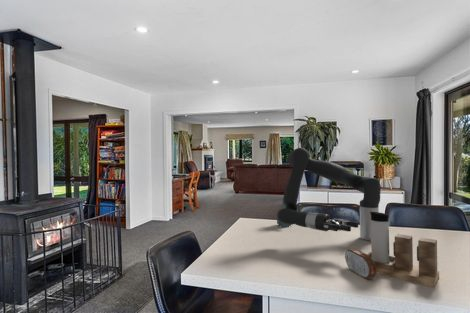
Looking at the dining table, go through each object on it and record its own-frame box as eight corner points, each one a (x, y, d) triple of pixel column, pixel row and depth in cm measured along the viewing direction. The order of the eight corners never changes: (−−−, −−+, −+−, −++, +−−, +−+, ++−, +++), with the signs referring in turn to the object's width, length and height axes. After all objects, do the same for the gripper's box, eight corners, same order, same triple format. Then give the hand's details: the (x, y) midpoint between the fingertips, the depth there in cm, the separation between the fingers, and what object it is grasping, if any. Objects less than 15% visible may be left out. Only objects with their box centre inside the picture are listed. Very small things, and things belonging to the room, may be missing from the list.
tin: (377, 282, 98) (376, 258, 98) (369, 283, 97) (369, 258, 97) (350, 266, 113) (350, 245, 113) (343, 267, 112) (343, 245, 112)
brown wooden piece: (361, 268, 110) (360, 233, 110) (370, 261, 118) (369, 227, 118) (434, 287, 94) (433, 245, 94) (439, 276, 102) (438, 238, 102)
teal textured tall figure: (289, 232, 172) (302, 193, 173) (273, 225, 174) (286, 188, 175) (289, 229, 186) (301, 193, 187) (274, 223, 188) (286, 188, 189)
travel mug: (367, 260, 113) (366, 210, 113) (383, 259, 113) (382, 210, 114) (376, 266, 106) (375, 213, 107) (393, 265, 107) (392, 213, 107)
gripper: (310, 215, 123) (347, 220, 112) (324, 211, 133) (360, 215, 122) (310, 232, 122) (348, 239, 111) (324, 226, 133) (360, 232, 122)
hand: (354, 227), depth 117 cm, fingers open, 8 cm apart
